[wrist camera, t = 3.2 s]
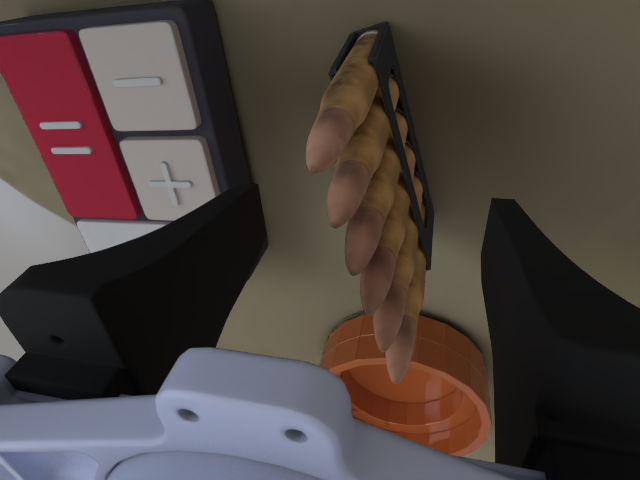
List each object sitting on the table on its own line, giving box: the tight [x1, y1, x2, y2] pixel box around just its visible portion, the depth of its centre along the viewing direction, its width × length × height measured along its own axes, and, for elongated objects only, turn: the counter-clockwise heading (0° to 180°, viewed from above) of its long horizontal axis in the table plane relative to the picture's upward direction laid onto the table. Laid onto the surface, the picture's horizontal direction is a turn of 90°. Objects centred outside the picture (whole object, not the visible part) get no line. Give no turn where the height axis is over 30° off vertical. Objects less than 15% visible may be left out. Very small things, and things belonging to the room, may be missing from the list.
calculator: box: [0, 0, 267, 280], centre depth 25 cm, size 11×4×15 cm
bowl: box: [319, 314, 491, 457], centre depth 32 cm, size 12×12×4 cm
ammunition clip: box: [306, 22, 434, 384], centre depth 18 cm, size 11×2×12 cm, turn 20°
